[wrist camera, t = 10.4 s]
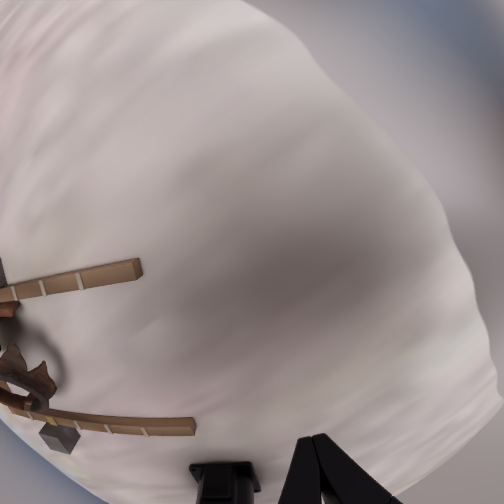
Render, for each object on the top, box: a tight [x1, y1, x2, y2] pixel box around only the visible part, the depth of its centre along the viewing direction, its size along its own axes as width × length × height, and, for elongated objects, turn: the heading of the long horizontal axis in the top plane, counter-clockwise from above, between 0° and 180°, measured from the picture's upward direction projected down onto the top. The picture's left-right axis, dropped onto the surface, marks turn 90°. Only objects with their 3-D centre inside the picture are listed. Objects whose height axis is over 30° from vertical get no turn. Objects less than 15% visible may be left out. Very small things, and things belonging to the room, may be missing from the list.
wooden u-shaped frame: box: [0, 258, 196, 454], centre depth 18 cm, size 21×25×3 cm
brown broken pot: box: [0, 300, 57, 413], centre depth 17 cm, size 12×10×8 cm
